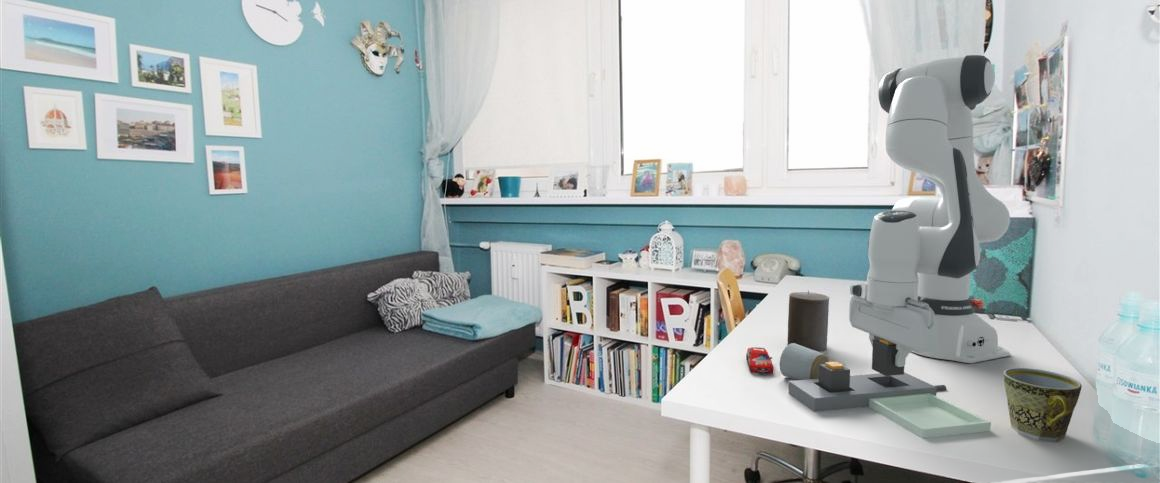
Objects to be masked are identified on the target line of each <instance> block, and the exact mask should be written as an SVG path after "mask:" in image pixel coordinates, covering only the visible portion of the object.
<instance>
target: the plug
mask: <svg viewBox="0 0 1160 483" xmlns="http://www.w3.org/2000/svg"><path fill="white" fill-rule="evenodd" d="M897 352H898V350H897V349H896V344H894V343H892V342H889V341H887V340H884V339H882V338H879V340H873V347H872V356H871V370H873V371H875V372H877V373H881V374H883V375H885V376H891V375H904V372H905V366H904V367H898V366H896V365H893V364H892V361H893V360H892V356H896V354H897Z"/></svg>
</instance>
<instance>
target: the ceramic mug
mask: <svg viewBox="0 0 1160 483" xmlns="http://www.w3.org/2000/svg"><path fill="white" fill-rule="evenodd" d="M782 350H783V351H782V352H781V355H780V358H779V370H780V374H781V375H782V376H784V377H785V378H788V379H792V380H793V381H795V380H807V379H819V364H825V362H830V360H829V358H828V357H827V355H826V354H824V353H822V352H818V351H815V350H812V349H809V348H806V347H803V346H801V345H798V344H795V343H791V344H789V345H786V346H785V347H784V349H782Z"/></svg>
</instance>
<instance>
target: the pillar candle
mask: <svg viewBox="0 0 1160 483" xmlns="http://www.w3.org/2000/svg"><path fill="white" fill-rule="evenodd" d="M788 296H789V297H788V298H789V299H788V315H787V316H788V320H787V343H786V344H787V345H786V346H788V345H789V344H791V343H795V344H798V345H801V346H803V347H806V348H809V349H812V350H815V351H818V352H820V353H822V352H824V351H826V350H827V348H828V330H829V327H828V326H829V310H830V309H829V306H830V298H831V297H830V296H827V295H826V294H822V293H817V292H810V291H809V290H807V291H797V292H796V291H795V292H791V293H789V295H788Z"/></svg>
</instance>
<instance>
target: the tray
mask: <svg viewBox="0 0 1160 483" xmlns="http://www.w3.org/2000/svg"><path fill="white" fill-rule="evenodd" d="M868 408H871V410H874V411H875V412H877V413H879V414H881V415H883V416H884V417H886V418H887V419H888V420H891V421H892V422H894V423H896V424H898V425H899V426H901V427H903V428H905V429H906V430H908V431H909V432H911V433H913V434H915V435H916V436H918V437H919V438H921V439H927V438H935V437H937V438H938V437H946V436H955V435H956V436H957V435H965V434H974V433H983V432H991V426H992V425H991V424H992V422H991V421H989V420H987V419H985V418H982V417H980V415H979V416H978V415H976V414H974V413H972V412H970V411H968V410H966V409H964V408H962V407H960V406H958V405H955V404H954V403H952V402H949V401H947V400H945V399H944V398H941V397H939V396H937V395H936V396H935V395H933V394H931V393H926V394H916V395H905V396H894V397H883V398H873V399H869V407H868Z"/></svg>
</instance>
